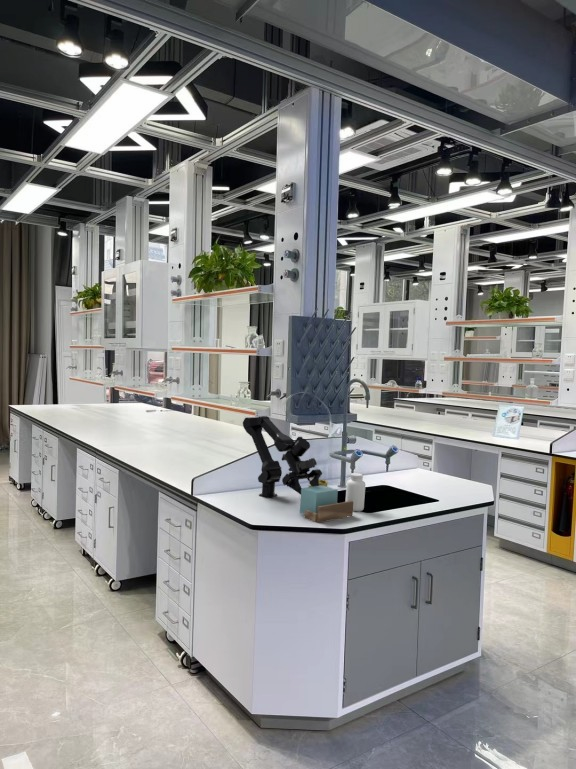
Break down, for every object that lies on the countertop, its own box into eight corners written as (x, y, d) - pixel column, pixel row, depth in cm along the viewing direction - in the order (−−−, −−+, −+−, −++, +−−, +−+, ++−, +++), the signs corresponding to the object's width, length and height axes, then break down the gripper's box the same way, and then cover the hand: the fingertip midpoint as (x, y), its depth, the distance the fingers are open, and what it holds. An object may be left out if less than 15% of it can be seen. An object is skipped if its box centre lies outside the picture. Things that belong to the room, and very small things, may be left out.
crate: (299, 512, 231) (301, 488, 231) (320, 508, 239) (322, 485, 239) (315, 517, 225) (316, 492, 224) (336, 513, 233) (337, 489, 232)
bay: (304, 518, 223) (305, 502, 223) (339, 511, 237) (340, 497, 237) (317, 522, 218) (318, 507, 217) (353, 515, 231) (354, 501, 231)
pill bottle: (349, 511, 237) (351, 476, 237) (342, 506, 245) (344, 472, 244) (366, 511, 240) (369, 476, 239) (359, 506, 247) (361, 472, 247)
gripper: (288, 453, 233) (305, 485, 225) (320, 450, 245) (337, 480, 237) (274, 468, 239) (290, 500, 231) (307, 465, 251) (323, 495, 243)
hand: (311, 493), depth 235 cm, fingers open, 9 cm apart
